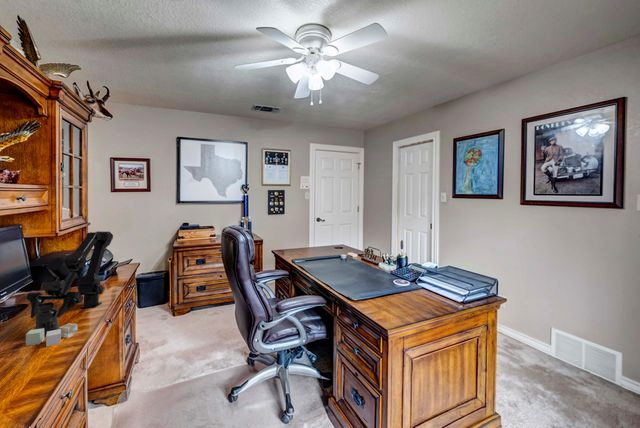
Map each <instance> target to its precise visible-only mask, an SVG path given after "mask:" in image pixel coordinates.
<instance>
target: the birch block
mask: <svg viewBox="0 0 640 428" xmlns="http://www.w3.org/2000/svg"><path fill="white" fill-rule="evenodd" d="M58 329H61V338H65V339H69V338H71V337H73V336H75V335H77V334H78V323H69V322H68V323H66V324H64V325H62V326H58Z"/></svg>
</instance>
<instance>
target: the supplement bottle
mask: <svg viewBox="0 0 640 428" xmlns="http://www.w3.org/2000/svg"><path fill="white" fill-rule="evenodd" d="M38 310H39V311H38V312H37V313H36V314H35V316H34V320H35V321H34V322H35V327H34V328H35V329H42V328H44V337H46V335H47V331H53V330H58V329H59V317H57V314H58V312H59V310H58V309H57V308H55V302H53V301H51V302H49V301H48V302H43V303H42V304H40V305H39V306H38Z"/></svg>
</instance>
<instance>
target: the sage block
mask: <svg viewBox="0 0 640 428" xmlns="http://www.w3.org/2000/svg"><path fill="white" fill-rule="evenodd" d="M44 341H45V336H44V328H42V329H36V328H35V329H30V330H29V331H28V332H27V333H26V334H25V345H26V347H28V346H29V347H30V346H37V345H41V344H42V343H43V342H44ZM41 342H42V343H41ZM40 343H41V344H40ZM36 344H37V345H36Z"/></svg>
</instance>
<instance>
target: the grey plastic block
mask: <svg viewBox="0 0 640 428" xmlns="http://www.w3.org/2000/svg"><path fill="white" fill-rule="evenodd" d="M45 339H46V341H45V342H46V348H47V347H50V346H51V347H53V346H55V345H60V344H61V343H62V337H61V329H59V328H58V330H53V331H47V335H46V336H45Z"/></svg>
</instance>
